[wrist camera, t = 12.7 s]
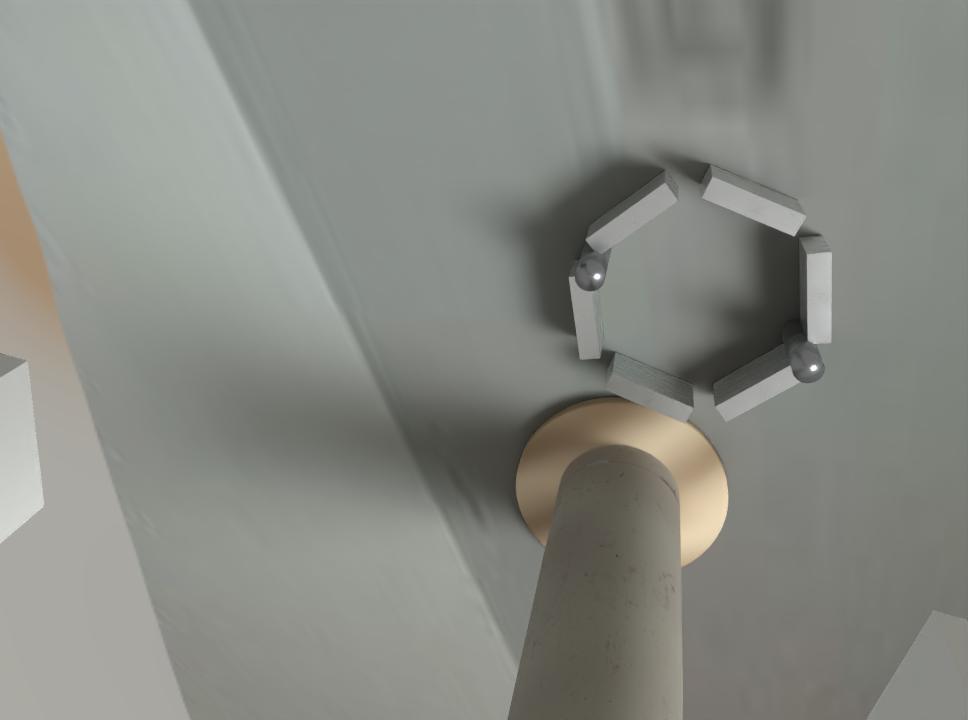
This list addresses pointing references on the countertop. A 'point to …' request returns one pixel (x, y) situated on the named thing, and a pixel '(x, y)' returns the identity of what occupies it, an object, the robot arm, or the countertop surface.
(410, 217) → the countertop surface
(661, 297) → the countertop surface
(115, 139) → the countertop surface
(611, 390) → the collar
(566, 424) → the pad
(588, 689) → the thermos bottle
